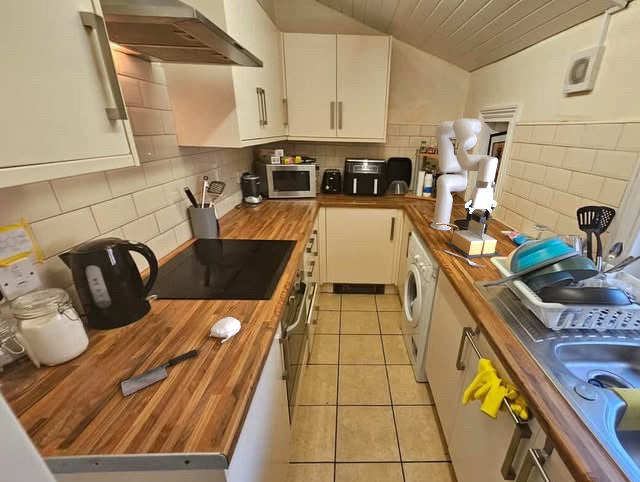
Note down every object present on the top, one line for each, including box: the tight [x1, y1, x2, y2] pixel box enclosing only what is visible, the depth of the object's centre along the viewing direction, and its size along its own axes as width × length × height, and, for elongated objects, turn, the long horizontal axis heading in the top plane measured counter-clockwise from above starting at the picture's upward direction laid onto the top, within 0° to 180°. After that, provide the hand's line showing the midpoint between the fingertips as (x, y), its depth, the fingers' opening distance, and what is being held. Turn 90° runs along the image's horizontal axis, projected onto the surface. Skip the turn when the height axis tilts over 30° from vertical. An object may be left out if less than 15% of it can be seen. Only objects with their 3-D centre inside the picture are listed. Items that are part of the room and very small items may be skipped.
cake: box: [445, 229, 501, 259], centre depth 151 cm, size 20×18×7 cm
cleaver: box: [120, 348, 198, 397], centre depth 72 cm, size 16×1×5 cm
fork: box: [443, 249, 487, 268], centre depth 139 cm, size 3×24×2 cm, turn 30°
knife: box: [467, 212, 487, 238], centre depth 147 cm, size 12×3×10 cm, turn 14°
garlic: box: [208, 316, 241, 344], centre depth 86 cm, size 8×7×4 cm
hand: (477, 219), depth 146 cm, fingers open, 9 cm apart
